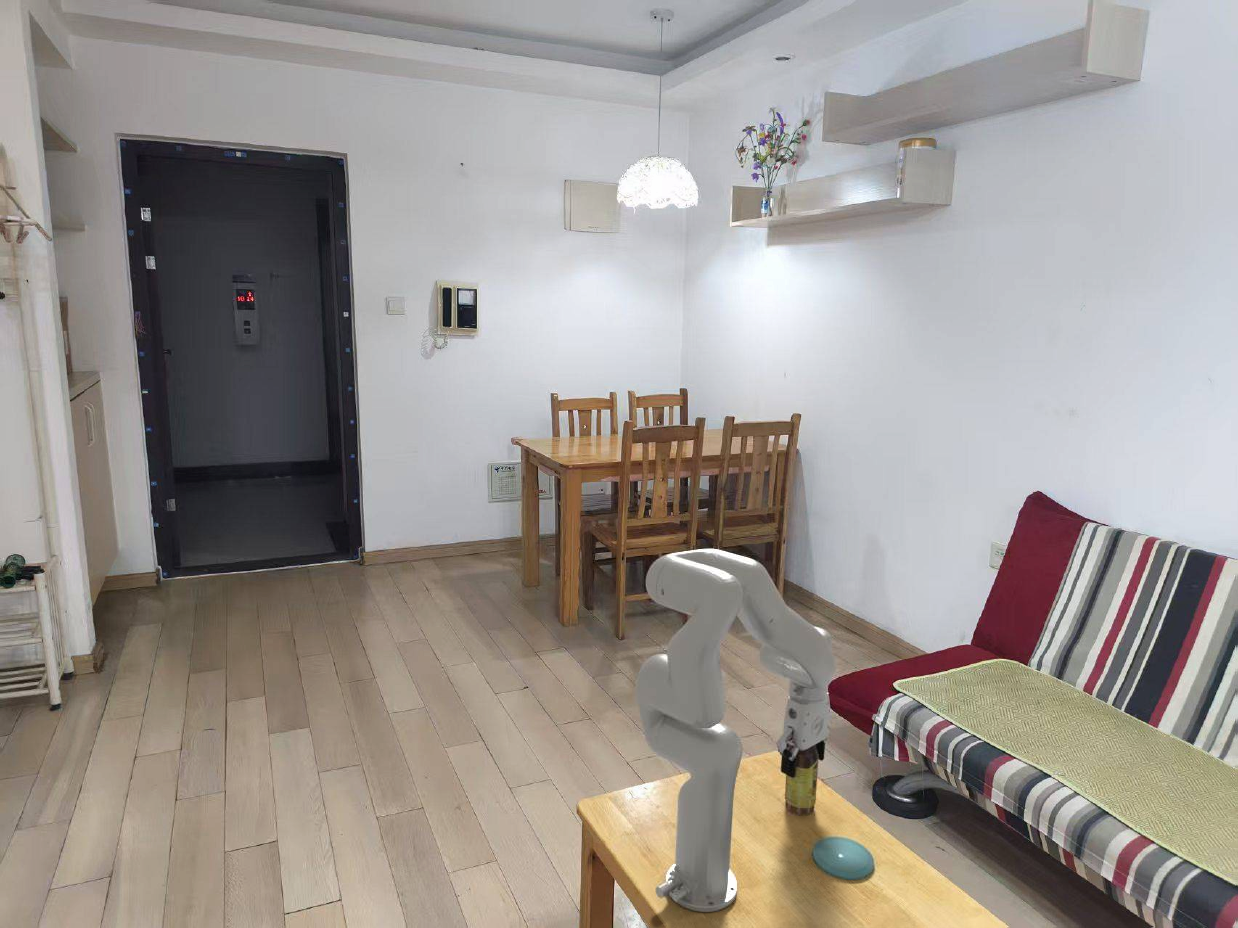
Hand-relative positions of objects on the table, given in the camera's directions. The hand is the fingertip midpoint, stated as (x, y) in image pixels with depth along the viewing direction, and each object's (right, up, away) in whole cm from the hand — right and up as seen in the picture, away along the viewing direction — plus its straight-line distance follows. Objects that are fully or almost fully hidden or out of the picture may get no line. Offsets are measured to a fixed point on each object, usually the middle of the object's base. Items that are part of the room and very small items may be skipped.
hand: (802, 765), depth 165 cm
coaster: (+4, -12, -14) cm, 19 cm away
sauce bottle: (0, -9, +2) cm, 10 cm away
